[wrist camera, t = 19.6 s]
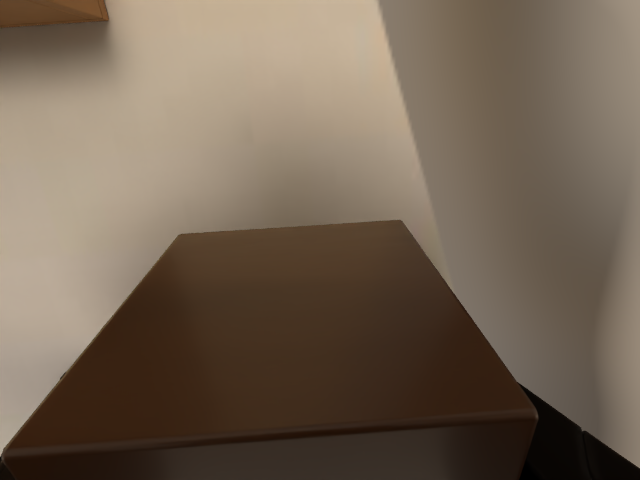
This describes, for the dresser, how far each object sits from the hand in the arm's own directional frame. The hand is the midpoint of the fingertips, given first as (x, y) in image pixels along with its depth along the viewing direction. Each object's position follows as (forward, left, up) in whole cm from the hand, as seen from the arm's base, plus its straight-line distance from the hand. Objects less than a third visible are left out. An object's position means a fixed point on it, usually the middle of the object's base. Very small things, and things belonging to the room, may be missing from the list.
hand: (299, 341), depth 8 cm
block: (0, 0, -1) cm, 1 cm away
